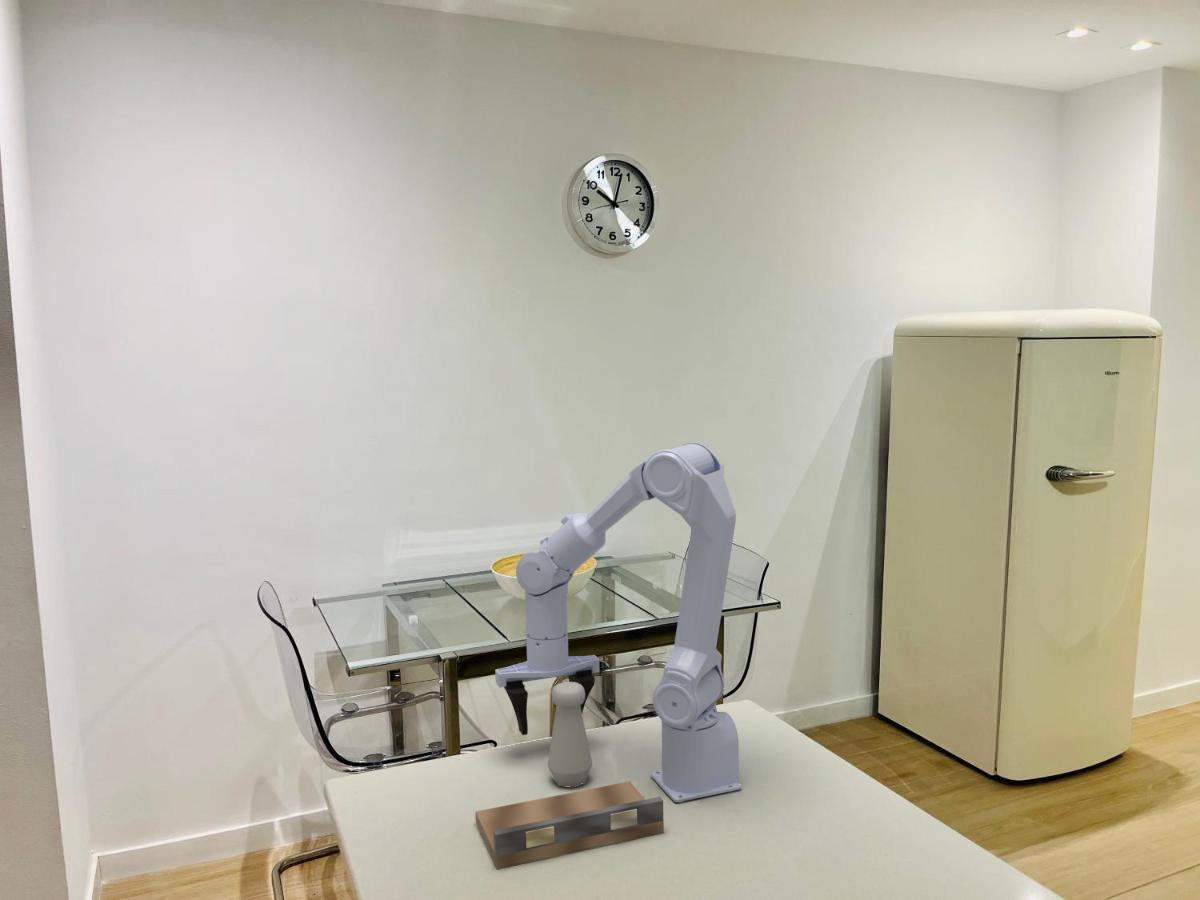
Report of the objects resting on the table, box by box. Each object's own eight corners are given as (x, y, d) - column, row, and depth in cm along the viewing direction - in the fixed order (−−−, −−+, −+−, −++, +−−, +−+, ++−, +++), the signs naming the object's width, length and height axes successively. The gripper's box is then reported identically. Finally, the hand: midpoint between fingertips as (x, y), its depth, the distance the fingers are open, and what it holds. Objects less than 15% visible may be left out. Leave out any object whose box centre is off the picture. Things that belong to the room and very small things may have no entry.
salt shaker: (587, 792, 119) (584, 695, 117) (543, 789, 120) (540, 692, 118) (596, 771, 125) (594, 678, 123) (554, 768, 126) (552, 676, 124)
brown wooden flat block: (630, 792, 119) (629, 762, 118) (664, 833, 109) (663, 801, 108) (475, 823, 112) (474, 791, 111) (497, 870, 102) (496, 835, 101)
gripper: (586, 619, 135) (588, 708, 136) (488, 631, 130) (492, 724, 131) (603, 633, 128) (605, 727, 130) (501, 647, 123) (504, 745, 125)
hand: (549, 727), depth 130 cm, fingers open, 7 cm apart
